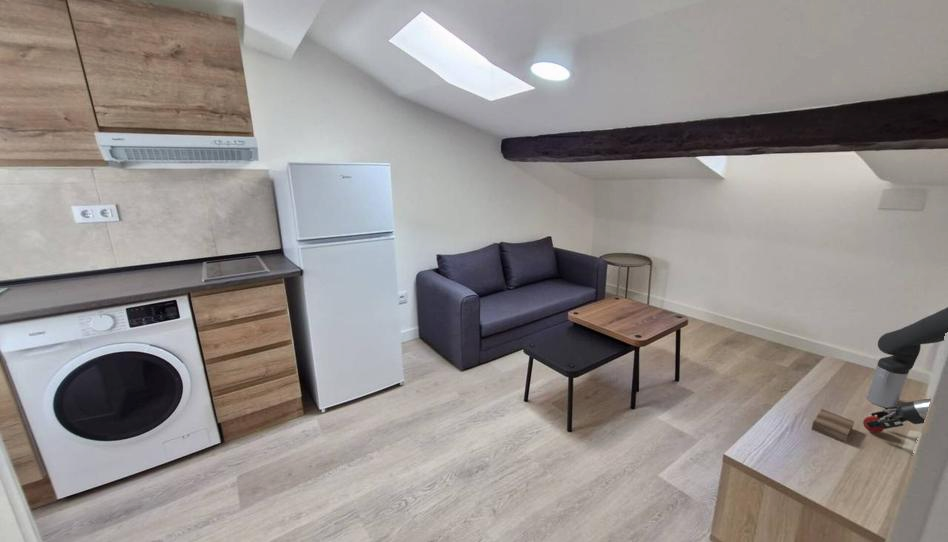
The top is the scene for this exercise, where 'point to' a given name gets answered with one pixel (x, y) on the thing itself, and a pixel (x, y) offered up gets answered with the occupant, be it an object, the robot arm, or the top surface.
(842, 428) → the plinth
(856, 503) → the top surface
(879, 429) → the pomegranate
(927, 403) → the robot arm
